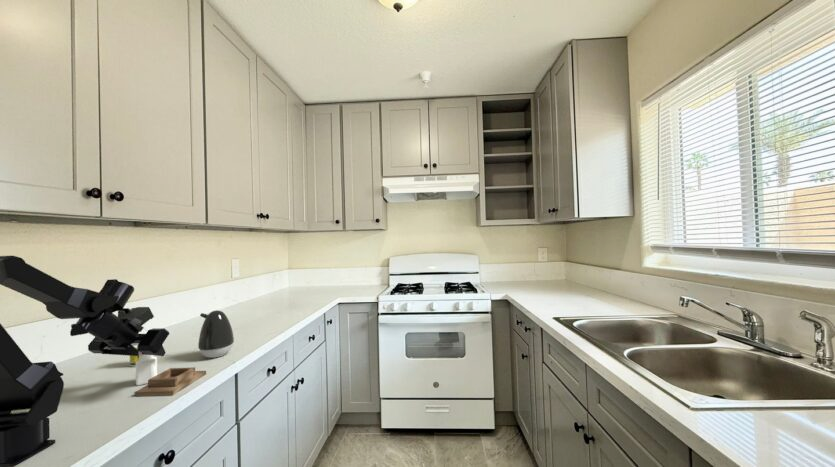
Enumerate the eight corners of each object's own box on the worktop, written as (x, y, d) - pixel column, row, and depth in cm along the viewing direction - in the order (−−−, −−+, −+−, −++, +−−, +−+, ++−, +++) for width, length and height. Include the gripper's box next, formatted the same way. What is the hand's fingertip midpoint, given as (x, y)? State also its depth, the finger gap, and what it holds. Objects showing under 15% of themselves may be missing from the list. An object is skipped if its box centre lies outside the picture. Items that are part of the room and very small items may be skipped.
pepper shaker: (154, 382, 86) (153, 348, 86) (135, 386, 84) (134, 351, 84) (157, 377, 90) (156, 344, 90) (139, 380, 88) (138, 347, 88)
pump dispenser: (212, 349, 111) (211, 307, 111) (240, 349, 111) (239, 306, 111) (190, 361, 101) (189, 314, 101) (221, 360, 100) (220, 314, 100)
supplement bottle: (137, 367, 97) (137, 340, 97) (125, 366, 98) (125, 340, 98) (153, 361, 102) (153, 335, 102) (142, 360, 103) (141, 335, 103)
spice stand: (173, 395, 79) (173, 383, 79) (134, 396, 79) (134, 384, 79) (206, 374, 91) (206, 363, 91) (172, 374, 91) (172, 364, 91)
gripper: (162, 299, 82) (196, 328, 93) (99, 299, 84) (140, 328, 95) (132, 338, 74) (174, 365, 85) (64, 338, 76) (113, 364, 87)
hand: (151, 354), depth 88 cm, fingers open, 8 cm apart
